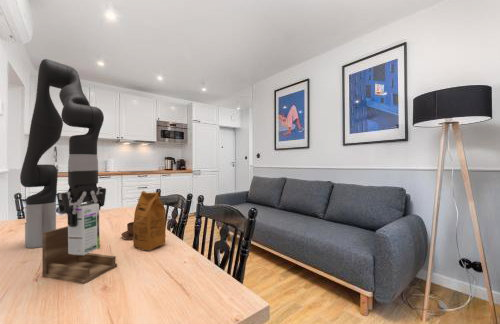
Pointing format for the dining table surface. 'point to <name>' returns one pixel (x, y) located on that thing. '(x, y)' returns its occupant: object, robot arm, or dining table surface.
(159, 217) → the coffee package
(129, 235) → the cup and saucer
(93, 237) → the syrup box
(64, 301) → the dining table surface
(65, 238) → the small wooden shelf
